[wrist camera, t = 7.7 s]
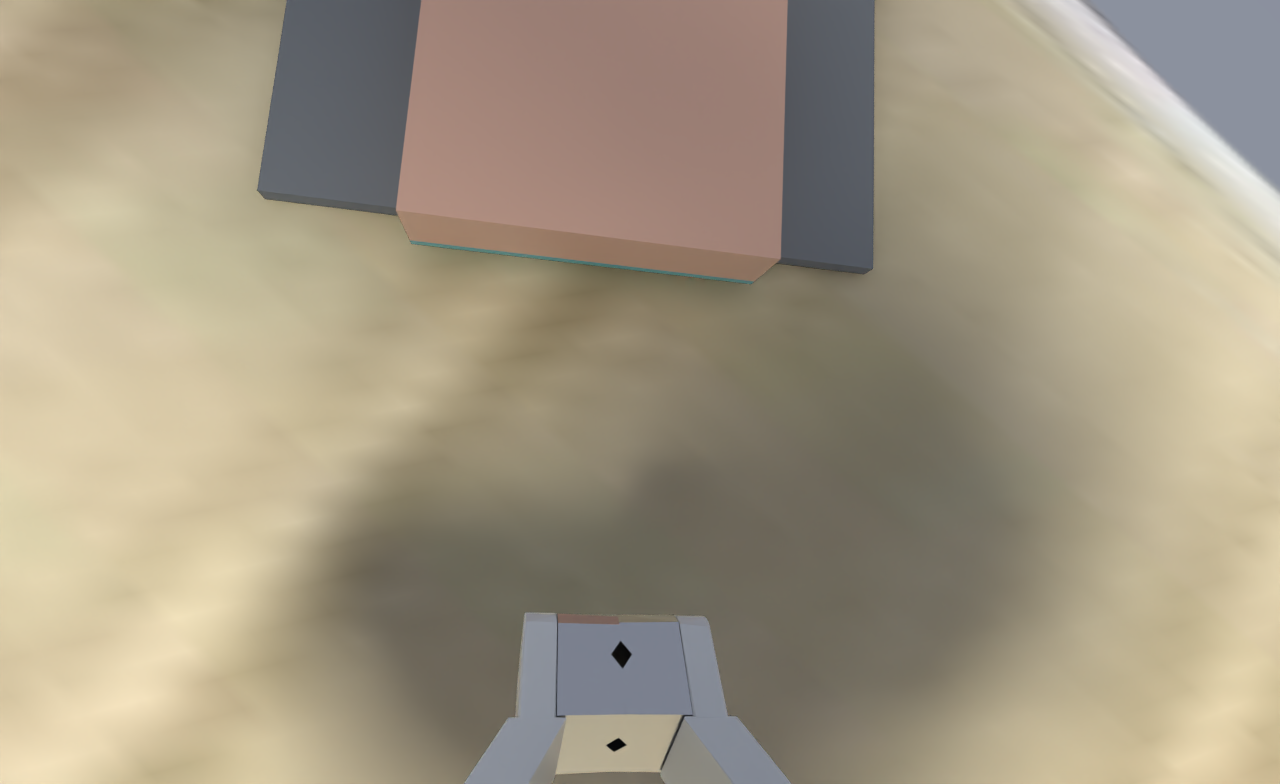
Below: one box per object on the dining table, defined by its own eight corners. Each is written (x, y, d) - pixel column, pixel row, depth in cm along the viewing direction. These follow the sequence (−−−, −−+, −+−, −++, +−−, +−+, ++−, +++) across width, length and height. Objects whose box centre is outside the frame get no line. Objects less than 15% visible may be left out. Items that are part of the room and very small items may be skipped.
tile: (780, 259, 19) (791, -145, 21) (395, 210, 17) (449, -229, 19) (751, 284, 21) (763, -81, 24) (411, 243, 20) (457, -149, 22)
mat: (863, 274, 23) (873, 268, 22) (265, 198, 20) (257, 190, 19) (866, -112, 25) (874, -126, 25) (332, -240, 22) (327, -259, 21)
